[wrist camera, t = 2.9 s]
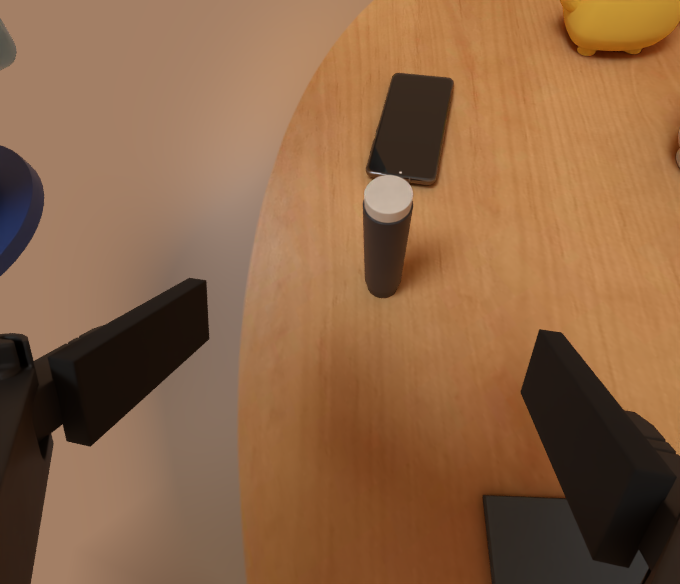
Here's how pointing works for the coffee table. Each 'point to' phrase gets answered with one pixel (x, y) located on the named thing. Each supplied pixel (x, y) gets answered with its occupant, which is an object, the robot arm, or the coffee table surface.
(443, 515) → the coffee table surface
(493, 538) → the pad
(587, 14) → the teapot
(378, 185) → the dark grey capped cylinder
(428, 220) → the coffee table surface
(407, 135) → the smartphone
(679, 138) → the teacup
